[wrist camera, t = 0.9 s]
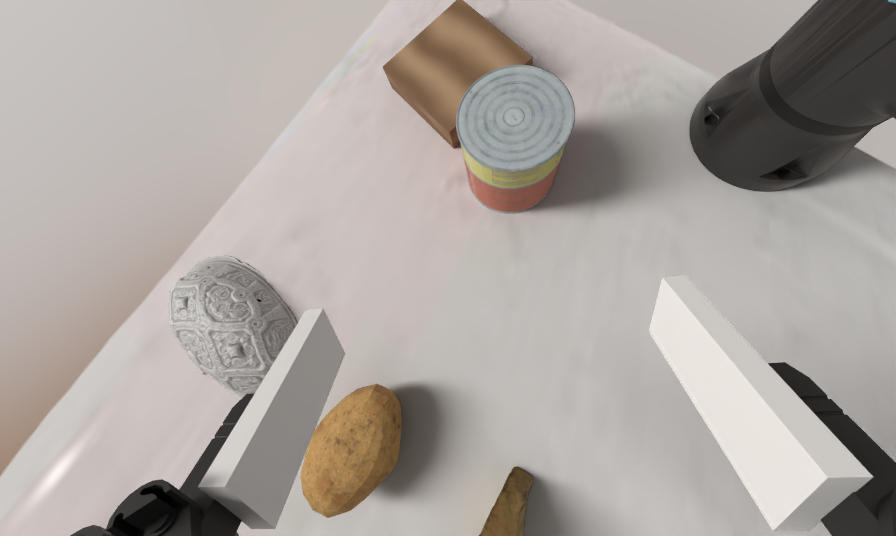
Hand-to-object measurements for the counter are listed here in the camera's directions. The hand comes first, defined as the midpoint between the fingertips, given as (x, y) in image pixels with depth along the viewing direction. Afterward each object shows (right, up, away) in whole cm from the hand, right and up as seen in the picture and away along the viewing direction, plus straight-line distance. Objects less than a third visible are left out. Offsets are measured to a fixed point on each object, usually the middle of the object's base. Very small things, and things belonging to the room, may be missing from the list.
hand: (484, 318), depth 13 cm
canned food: (+7, +15, +30) cm, 34 cm away
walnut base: (0, +28, +33) cm, 44 cm away
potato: (-11, -18, +27) cm, 35 cm away
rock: (+5, -26, +23) cm, 35 cm away
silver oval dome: (-31, -6, +33) cm, 46 cm away
